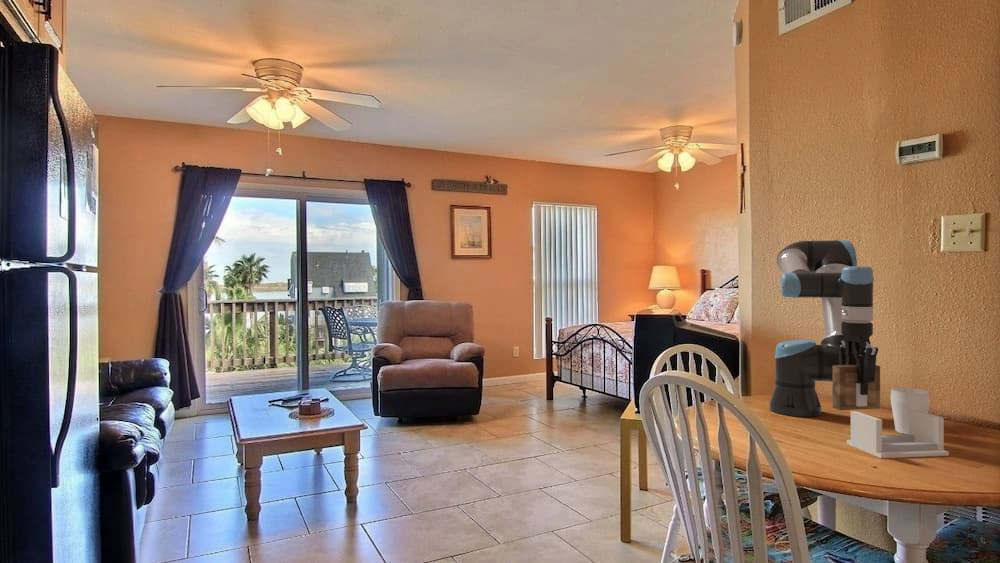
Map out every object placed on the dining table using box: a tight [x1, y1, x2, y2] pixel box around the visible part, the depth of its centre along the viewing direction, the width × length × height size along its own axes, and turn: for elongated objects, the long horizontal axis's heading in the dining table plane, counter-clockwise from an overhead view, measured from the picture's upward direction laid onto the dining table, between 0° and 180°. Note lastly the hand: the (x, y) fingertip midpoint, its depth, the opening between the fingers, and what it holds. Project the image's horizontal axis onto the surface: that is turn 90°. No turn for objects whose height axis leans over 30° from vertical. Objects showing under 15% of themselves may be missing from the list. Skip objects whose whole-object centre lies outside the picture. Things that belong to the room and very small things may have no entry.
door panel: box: [831, 364, 881, 411], centre depth 160 cm, size 3×12×12 cm, turn 95°
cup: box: [890, 386, 931, 435], centre depth 161 cm, size 9×9×12 cm
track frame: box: [846, 409, 950, 459], centre depth 145 cm, size 12×18×9 cm, turn 95°
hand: (856, 404), depth 160 cm, fingers closed on door panel, 3 cm apart
